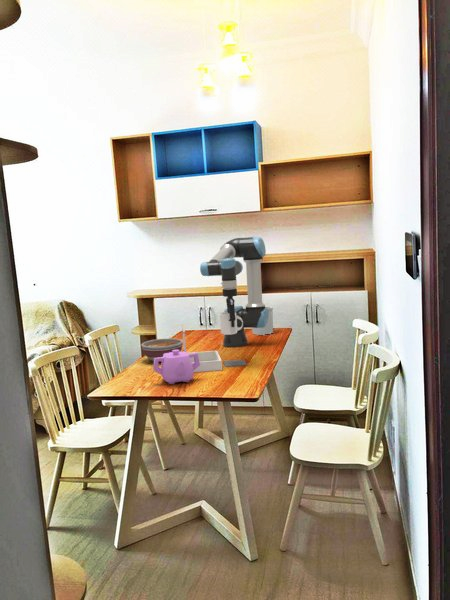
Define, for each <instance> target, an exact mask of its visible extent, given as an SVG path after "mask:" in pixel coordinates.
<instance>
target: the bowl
mask: <svg viewBox="0 0 450 600" xmlns="http://www.w3.org/2000/svg"><path fill="white" fill-rule="evenodd" d="M183 346H184V345H183V339H179V338H169V337H168V338H158V339H157V338H156V339H151V340H147V341H143V342H142V343H141V346H140V347H141V349H142V352H143V354H144V355H145V357H147V358H148V360H150V361H152V362H154V358H158V357H163V354H165V353H169V352H172V350H179V352H180V351H182V349H183ZM159 362H160V363H162V361H159Z"/></svg>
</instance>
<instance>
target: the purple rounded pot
mask: <svg viewBox="0 0 450 600" xmlns="http://www.w3.org/2000/svg"><path fill="white" fill-rule="evenodd" d="M188 353H189V352H187V351H186V352H184V350H183V351H182V350H181V351H180V352H179V350H172V352H169V353H165V354H163V357H158V358H154V361H153V368H152V370H153V372H155V373H158V374H159V375H161V377H162V379H163V380H164V381H165V382H166V383H168V385H169V384H173V385H176V383H179V382H183V383H184V382H188V383H190V381H191V380H193V378H194V373H195V372H193V371H194V370H195V369H196V368H197V367H199V366H200V362H201V361H199V358H198V354H197V353H192V352H191V353H192V354H188ZM191 357H194V363H193V364H192V362H191V360H190V358H191ZM159 361H162V362H161V365H160V367H159Z"/></svg>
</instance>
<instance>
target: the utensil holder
mask: <svg viewBox="0 0 450 600" xmlns="http://www.w3.org/2000/svg"><path fill="white" fill-rule="evenodd" d="M265 308H267V309H268V321H267V324H266V326H265V327H263V328H251V330H252V335H253V334H257V335H256V336H258V335H263V336H266V335H265V334H270V335H272V334H271V333H273V334H274V317H273V309H274V308H273V306H270V305H265Z"/></svg>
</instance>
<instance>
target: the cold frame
mask: <svg viewBox="0 0 450 600" xmlns="http://www.w3.org/2000/svg"><path fill="white" fill-rule="evenodd" d="M181 329H182V342H183V345H182V346H183V351H184V352H186V353H188V354H192V353H197V354H198V358H199V362H200V366H199V367H197V368H196V369H195V370H194V371H193V372H194V373H205V372H217V371H223V361H222V358H221V356H220V353H219V351H218V350H207V351H193V352H187V345H186V344H187V343H186V329H185V325H184V323H181ZM190 360H191V362H192V364H193V363H194V357H191V358H190Z"/></svg>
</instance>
